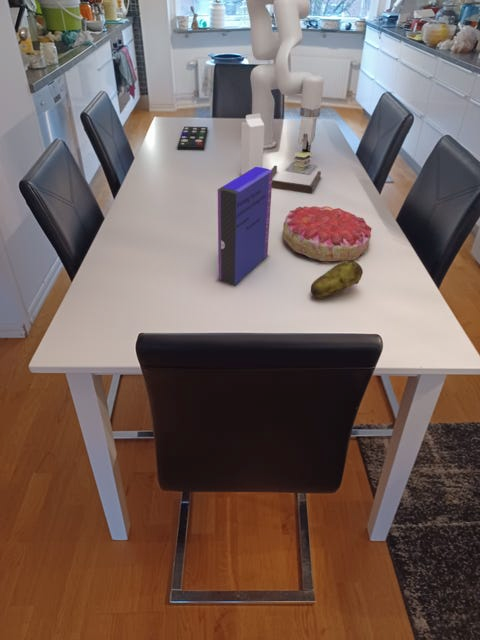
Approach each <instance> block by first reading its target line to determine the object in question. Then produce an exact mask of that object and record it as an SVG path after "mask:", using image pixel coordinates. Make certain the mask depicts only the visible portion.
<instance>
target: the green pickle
mask: <svg viewBox="0 0 480 640" xmlns="http://www.w3.org/2000/svg"><path fill="white" fill-rule="evenodd" d="M363 272H364V270H363V267H362V266H361V265H360V264H359V263H358V262H356V261H355V260H341V261H340V262H339V263H338V264H335V265H334V266H333V267H331V268H330V269H328V271H326V272H324V273H323V274H322V275H320V276H319V277H318V278H315V280H314V281H313V282H312V283H311V285H310V294H311V295H312V296H313V297H315V298H318V299H324V298H326V297H328V296H332V295H336V294H338V293H342V292H343V291H345V290H346V289H348V288H351V287H352V286H354V285H358V284H359V282H360V281H361V279H362V277H363Z"/></svg>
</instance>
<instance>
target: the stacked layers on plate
mask: <svg viewBox="0 0 480 640" xmlns="http://www.w3.org/2000/svg"><path fill="white" fill-rule="evenodd" d="M311 155H312V153H311V151H310V152H302V151H296V152H295V154H294V159H293V161H294V163H292V164H291V165H290V166H289V167H288V168H287V169H286V171H287V172H288V171H289V172H294V173H301V174H304V175H305V174H306V175H310V174H311V172H313V170H314V169H315V168H316V165H311V163H312V162H311V159H312V156H311Z"/></svg>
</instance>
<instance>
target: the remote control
mask: <svg viewBox="0 0 480 640" xmlns="http://www.w3.org/2000/svg"><path fill="white" fill-rule="evenodd" d="M208 128H209V127H208V126H183V129H182V131H181V134H180V137H179V141H178V144H177V151H204V150H205V146H206V141H207V135H208V130H209V129H208Z"/></svg>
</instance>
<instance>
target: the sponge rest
mask: <svg viewBox="0 0 480 640" xmlns="http://www.w3.org/2000/svg"><path fill="white" fill-rule="evenodd" d="M270 170H273V176H272V189H279V190H284V191H285V190H286V191H293V192H300V193H305V194H306V193H307V194H313V192H314V190H315V189H316V186H317V185H318V183H319V181H320V180H321V175H322V174H321V173H322V171H321V170H320V171H317V172H316V175H314V178H313V179H312V181H311V184H304V183H296V182H289V181H282V180H276V179H275V180H274V179H273V178H274V176H275V175H276V174H277V173H278V165H273V167H272V168H271V169H270Z"/></svg>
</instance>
